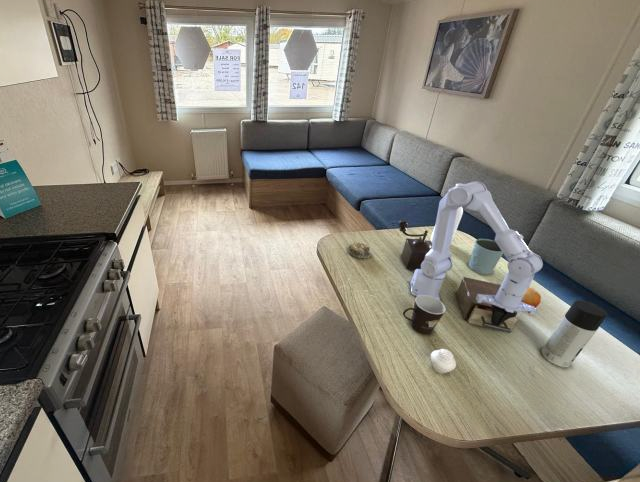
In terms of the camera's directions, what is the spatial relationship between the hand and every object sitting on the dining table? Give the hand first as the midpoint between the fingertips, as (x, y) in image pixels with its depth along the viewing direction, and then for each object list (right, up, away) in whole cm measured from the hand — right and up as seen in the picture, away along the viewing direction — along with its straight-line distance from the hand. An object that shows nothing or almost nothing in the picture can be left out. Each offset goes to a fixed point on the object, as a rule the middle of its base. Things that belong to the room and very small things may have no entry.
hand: (494, 324), depth 97 cm
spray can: (+13, -8, -6) cm, 17 cm away
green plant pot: (+20, +13, +34) cm, 41 cm away
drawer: (+2, 0, +7) cm, 7 cm away
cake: (-29, +18, +42) cm, 54 cm away
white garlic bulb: (-23, -10, -10) cm, 27 cm away
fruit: (+21, +2, +15) cm, 26 cm away
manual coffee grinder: (-9, +15, +36) cm, 40 cm away
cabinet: (+4, +1, +11) cm, 12 cm away
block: (+2, +1, +6) cm, 6 cm away
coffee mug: (-23, -2, +4) cm, 23 cm away
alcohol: (+14, +22, +52) cm, 58 cm away
